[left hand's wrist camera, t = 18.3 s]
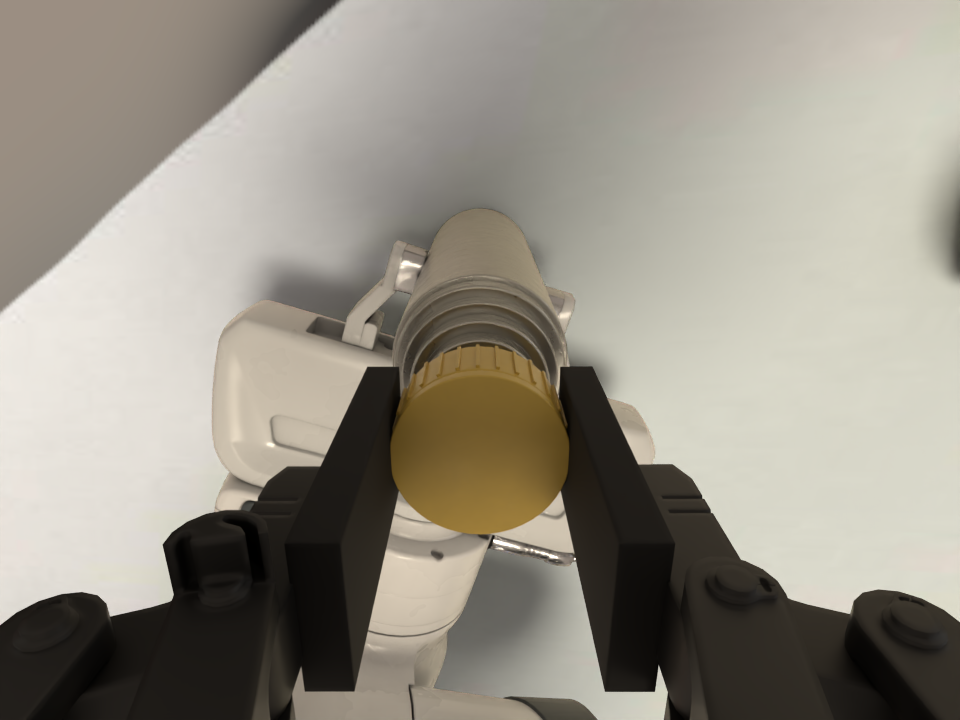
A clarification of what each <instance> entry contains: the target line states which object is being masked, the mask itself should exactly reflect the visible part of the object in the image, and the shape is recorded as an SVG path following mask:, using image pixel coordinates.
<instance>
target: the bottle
mask: <svg viewBox="0 0 960 720" xmlns="http://www.w3.org/2000/svg"><path fill="white" fill-rule="evenodd" d="M476 344H480V346H483V347H493V348H494V347H495V346H498V348H499V349H503V350H506V351H509V352H512V351H515V352H516V354H517V355H519V356H521V357H523V358H524V359H526V360H529V359H530V360H532V363H533V365H534V366H535V367H537V368H538V369H539V370H540V371H541V372H542V371H544V372H545V374H546V377H547V379H548V381H549V382H550V384H551V385H553V384H554V386H555V388H556V392H557V395H558V396H559V383H560V367H567V357H568V355H567V344H566V339H565V335H564V332H563V329H562V326H561V324H560V321H559V319H558V317H557V314H556V312H555V309H554V307H553V304H552V302H551V300H550V297H549V295H548V292H547V290H546V287H545V285H544V283H543V280H542V278H541V275H540V273H539V270H538V268H537V266H536V263H535V261H534V258H533V256H532V253H531V251H530V249H529V246H528V244H527V241H526V239H525V237H524V235H523V233H522V231H521V230H520V228H519V227H518V226H517V225H516V224H515V223H514V222H513V221H512V220H511V219H510V218H509V217H507V216H505V215H504V214H502V213H499V212H497V211H494V210H490V209H481V208H477V209H470V210H466V211H463V212H460V213H458V214H456V215H455V216H453V217H451V218H450V219H449V220H447V221H446V222H445V223H444V224H443V225H442V227H441V228H440V229H439V231H438V233H437V234H436V236H435V239H434V241H433V243H432V246H431V248H430V251H429V253H428V256H427V258H426V260H425V263H424V265H423V268H422V270H421V272H420V275H419V277H418V280H417V282H416V285H415V287H414V289H413V292H412V294H411V297H410V299H409V302H408V304H407V306H406V309H405V311H404V314H403V316H402V319H401V321H400V323H399V326H398V328H397V331H396V334H395V338H394V342H393V351H392V361H393V367H399V371H400V390H401V395H402V391H403V389H404V387H405V388H407V387H408V385H409V383H410V381H411V377H412V375H413V374H417V373H418V372H419V371H420V370H421V369H422V368H423V367H424V363H425V362H428V363H429V362H431V361H432V360H434V359H435V358H437V357H439V356H440V353H442V352H443V353H444V354H445V353H447V352H450V351H453V350H457V347H460V346H461V348H466V347H476Z"/></svg>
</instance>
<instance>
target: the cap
mask: <svg viewBox="0 0 960 720" xmlns="http://www.w3.org/2000/svg"><path fill="white" fill-rule="evenodd" d="M566 428H567V421H566V418H565V415H564V411H563V408H562V404H561V401H560V400H559V398H558V395H557V392H556V388H555V386H554V384H553V385H551V384H550V382H549V381H548V379H547V377H546V374H545V372H544V371H542V372H541V371H540V370H539V369H538V368H537V367H535V366H534V365H533V363H532V360H530V359H529V360H526V359H524V358H523V357H521V356H519V355H517V354H516V352H515V351H512V352H509V351H506V350H503V349H499V348H498V346H495V347H494V348H493V347H483V346H480V344H476V347H466V348H461V346H460V347H457V350H453V351H450V352H447V353H445V354H444V353H443V352H442V353H440V356H439V357H437V358H435V359H434V360H432V361H431V362H429V363H428V362H425V363H424V367H423V368H422V369H421V370H420V371H419V372H418V373H417V374H413V375H412V377H411V381H410V383H409V385H408V387H407V388H405V387H404V389H403V391H402V395H401V398H400V402H399V405H398V408H397V412H396V418H395V421H394V425H393V428H392V431H393V432H392V436H391V441H390V451H391V467H392V476H393V479H394V481H395V484H396V486H397V488H398V490H399V491H400V493H401V494H402V496H403V498H404V499H405V500H406V501H407V502H408V504H409V505H410V506H411V507H412V508H413V509H414V510H415V511H416V512H417V513H419V514H420V515H421V516H423V517H424V518H426V519H427V520H429V521H431V522H433V523H434V524H436V525H438V526H441V527H443V528H446V529H449V530H452V531H456V532H461V533H467V534H493V533H499V532H504V531H507V530H511V529H514V528H516V527H519V526H521V525H523V524H525V523H527V522H529V521H531V520H533V519H534V518H535V517H537V516H538V515H540V514H541V513H542V512H543V511H544V510H545V509H546V508H548V507H549V506H550V504H551V503H552V502H553V501H554V500H555V498H556V497H557V495H558V494H559V492H560V491H561V489H562V487H563V485H564V483H565V481H566V478H567V474H568V461H569V437H568V434H567V430H566Z"/></svg>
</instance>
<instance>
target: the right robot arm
mask: <svg viewBox="0 0 960 720" xmlns="http://www.w3.org/2000/svg"><path fill="white" fill-rule="evenodd" d="M427 254H428V250H426V249H423V248H420V247H417V246H414V245H411V244H407V243H405V242H401V241H398V240H397V241H396V242H395V243H394V245H393V248H392V251H391V254H390V257H389V261H388V265H387V268H386V272H385V276H384V277H383V278H382V279H381V280H380V281H379V282H378V283H377V284H376V285H375V286H374V287H373V288H372V289H371V290H370V291H369V292H368V293H367V294H366V295H365V296H364V297H363V298H362V299H361V300H360V301H358V302H357V303H356V305H355V306H354V308H353V309H352V310H351V312H350V313H349V315H348V316H347V320H346V322H343V321H340V320H337V319H333V318H330V317H326V316H323V315H319V314H316V313H312V312H309V311H306V310H302V309H299V308H295V307H292V306H288V305H285V304H282V303H278V302H275V301H271V300H262V301H259V302H257V303H256V304H254V305H252V306H250V307H249V308H247V309H245V310H244V311H242V312H241V313H239V314H238V315H237V316H236V317H234V318H233V319H232V320H231V321H230V322H229V323H228V324H227V325H226V327H225V328H224V330H223V331H222V334H221V336H220V339H219V343H218V348H217V354H216V361H215V369H214V379H213V394H212V436H213V443H214V447H215V450H216V453H217V455H218V457H219V459H220V461H221V463H222V464H223V465H224V467H225V468H226V469H227V470H228V471H229V474H228V476H227V477H226V479H225V481H224V483H223V486H222V488H221V490H220V492H219V495H218V497H217V500H216V504H215V512H218V511H223V510H245V511H250V510H251V508H252V506H253V505H254V503H255V501H258V496H259V495H260V493H261V491H262V490H263V488H264V486H265V485H266V483H267V481H268V480H270V479H271V478H272V477H274V476H275V475H276V474H278V473H279V472H280V471H282V470H283V469H284V468H286V467H287V466H321V464H322V462H323V460H324V458H325V456H326V453H327V451H328V449H329V447H330V445H331V443H332V441H333V439H334V436H335V434H336V432H337V430H338V428H339V426H340V424H341V422H342V419H343V417H344V415H345V413H346V411H347V409H348V407H349V405H350V402H351V400H352V398H353V396H354V394H355V392H356V390H357V388H358V385H359V383H360V381H361V379H362V377H363V375H364V373H365V370H366V368H367V367H393V361H392V351H393V342H394V338H395V336H392V335H388V334H385V333H381V332H380V331H381V327H382V323H383V319H384V313H383V312H382V311H379V310H377V309H378V308H379V307H380V306H381V305H382V304H384V303H385V302H386V301H387V300H388V299H389V298H390V297H391V296H392V295H393V294H394V293H395V292H396V291H401V292H405V293H408V294H412V292H413V289H414V287H415V285H416V282H417V280H418V277H419V275H420V272H421V270H422V268H423V265H424V263H425V260H426V258H427ZM545 287H546V290H547V292H548V295H549V297H550V300H551V302H552V304H553V307H554V309H555V312H556V314H557V317H558V319H559V321H560V324H561V326H562V329H563V332H564V334H565V332H566V329H567V326H568V324H569V321H570V318H571V316H572V313H573V310H574V306H575V299H574V297H573V295H572V294H570V293H567V292H564V291H561V290H557V289H554V288H551V287H547V286H545ZM567 355H568V354H567ZM567 367H570V365H569V360H568V357H567ZM558 398H559V396H558ZM607 399H608V401H609V403H610V405H611V408H612V410H613V412H614V414H615V416H616V418H617V420H618V422H619V425H620V427H621V429H622V431H623V433H624V435H625V437H626V439H627V442H628V444H629V446H630V448H631V450H632V452H633V454H634V456H635V459H636V461H637V463H638V464H652V463H653V460H654V458H655V446H654V443H653V439H652V437H651V434H650V432H649V430H648V428H647V426H646V424H645V422H644V420H643V419H642V417H641V415H640V414H639V412H638V411H637V410H636V409H635V408H634V407H633V406H631V405H629V404H626V403H622V402H619V401H615V400H612V399H609V398H607ZM488 548H490V549H494V550H498V551H502V552H505V553H509V554H513V555H518V556H526V557H533V558H537V559H540V560H544V561H545V562H546V563H549V564H552V565H556V566H570V565H571V563H572V562H576V558H575V554H574V549H573V545H572V540H571V536H570V531H569V527H568V522H567V518H566V513H565V509H564V504H563V500H562V495H561V491H560V492H559V494H558V495H557V497H556V498H555V500H554V501H553V502H552V503H551V504H550V506H549V507H548V508H546V509H545V510H544V511H543V512H542V513H541V514H540V515H538V516H537V517H535V518H534V519H533V520H531V521H529V522H527V523H525V524H523V525H521V526H519V527H516V528H514V529H511V530H507V531H504V532H499V533H493V534H467V533H461V532H456V531H452V530H449V529H446V528H443V527H441V526H438V525H436V524H434V523H433V522H431V521H429V520H427V519H426V518H424V517H423V516H421V515H420V514H419V513H417V512H416V511H415V510H414V509H413V508H412V507H411V506H410V505H409V504H408V502H407V501H406V500H405V499H404V498H403V496H402V494H401V493H400V491H399V493H398V498H397V502H396V507H395V511H394V516H393V520H392V525H391V529H390V534H389V538H388V543H387V548H386V552H385V557H384V561H383V566H382V570H381V575H380V579H379V584H378V588H377V593H376V597H375V602H374V606H373V611H372V615H371V620H370V624H369V629H368V633H367V638H366V642H365V647H364V651H363V656H362V660H361V665H360V669H359V674H358V678H357V683H356V687H355V692H305V690H304V683H303V676H302V668H300V671H299V674H298V677H297V680H296V683H295V686H294V689H293V692H292V696H293V703H294V710H295V717H296V720H597V719H596V717H595V716H594V715H593V714H592V713H591V712H590V711H589V710H588V709H587V708H586V707H585V706H584V705H582V704H581V703H579V702H577V701H575V700H572V699H556V698H534V697H505V698H496V697H489V696H482V695H476V694H469V693H462V692H455V691H449V690H442V689H435V688H434V685H435V683H436V681H437V678H438V676H439V673H440V671H441V668H442V665H443V662H444V659H445V655H446V650H447V632H448V630H449V629H450V628H451V627H452V626H453V625H454V624H455V622H456V621H457V620H458V618H459V617H460V615H461V613H462V612H463V610H464V608H465V605H466V603H467V600H468V597H469V595H470V592H471V590H472V587H473V585H474V582H475V579H476V577H477V574H478V571H479V569H480V566H481V564H482V561H483V559H484V556H485V553H486V551H487V549H488Z"/></svg>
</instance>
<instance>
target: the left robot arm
mask: <svg viewBox="0 0 960 720" xmlns="http://www.w3.org/2000/svg"><path fill="white" fill-rule="evenodd" d="M400 398H401V390H400V371H399V367H367V368H366V370H365V373H364V375H363V377H362V379H361V381H360V383H359V385H358V388H357V390H356V392H355V394H354V396H353V398H352V400H351V402H350V405H349V407H348V409H347V411H346V413H345V415H344V417H343V419H342V422H341V424H340V426H339V428H338V430H337V432H336V434H335V436H334V439H333V441H332V443H331V445H330V447H329V449H328V451H327V453H326V456H325V458H324V460H323V462H322V464H321V466H287V467H286V468H284V469H283V470H282V471H280V472H279V473H278V474H276V475H275V476H274V477H272V478H271V479H270V480H268V481H267V483H266V485H265V486H264V488H263V490H262V491H261V493H260V495H259V496H258V501H255V503H254V505H253V506H252V508H251V510H250V511H245V510H223V511H218V512H213V513H209V514H205V515H203V516H200V517H198V518H195V519H193V520H191V521H188V522H186V523H185V524H184V525H182V526H181V527H179V528H178V529H176V530H175V531H173V532H172V533H171V535H170V536H169V537H168V538H167V540H166V541H165V542H164V544H163V548H164V553H165V557H166V562H167V566H168V570H169V575H170V579H171V584H172V588H173V593H174V596H173V599H172V601H170V602H168V603H165V604H161V605H158V606H155V607H151V608H147V609H142V610H138V611H133V612H129V613H125V614H120V615H116V616H111V617H110V615H109V612H108V608H107V604H106V603H105V602H104V601H103V600H102V599H101V598H100V597H99V596H98V595H93V594H88V593H83V592H79V593H69V594H61V595H57V596H54V597H51V598H48V599H45V600H41V601H38V602H37V603H35V604H33V605H31V606H29V607H27V608H25V609H23V610H21V611H19V612H17V613H16V614H14V615H13V616H12V617H10V618H9V619H8V620H7V621H5V622H4V623H3V624H1V625H0V720H296V717H295V710H294V703H293V696H292V692H293V689H294V686H295V683H296V680H297V677H298V674H299V671H300V668H302V676H303V683H304V690H305V692H355V687H356V683H357V678H358V674H359V669H360V665H361V660H362V656H363V651H364V647H365V642H366V638H367V633H368V629H369V624H370V620H371V615H372V611H373V606H374V602H375V597H376V593H377V588H378V584H379V579H380V575H381V570H382V566H383V561H384V557H385V552H386V548H387V543H388V538H389V534H390V529H391V525H392V520H393V516H394V511H395V507H396V502H397V498H398V493H399V490H398V488H397V486H396V484H395V481H394V479H393V476H392V467H391V451H390V441H391V436H392V432H393V431H392V428H393V425H394V421H395V418H396V412H397V408H398V405H399V402H400ZM559 400H560V401H561V404H562V408H563V411H564V415H565V418H566V421H567V428H566V430H567V434H568V437H569V461H568V474H567V478H566V481H565V483H564V485H563V487H562V489H561V495H562V500H563V504H564V509H565V513H566V518H567V522H568V527H569V531H570V536H571V540H572V545H573V549H574V554H575V558H576V563H577V567H578V572H579V576H580V581H581V585H582V590H583V594H584V599H585V603H586V608H587V612H588V617H589V621H590V626H591V630H592V635H593V640H594V644H595V649H596V653H597V658H598V662H599V667H600V671H601V676H602V680H603V685H604V689H605V692H655V687H656V680H657V673H658V666H659V667H660V670H661V673H662V676H663V679H664V682H665V685H666V688H667V691H668V696H667V703H666V710H665V716H664V720H960V622H959V621H957V620H956V619H955V618H954V617H952V616H951V615H950V614H948V613H947V612H946V611H944V610H943V609H941V608H939V607H937V606H935V605H933V604H931V603H929V602H927V601H925V600H923V599H921V598H918V597H915V596H911V595H908V594H905V593H902V592H898V591H888V590H874V591H869V592H864V593H862V594H861V595H860V596H859V597H858V598H857V599H856V600H854V603H853V606H852V610H851V613H850V614H847V613H842V612H838V611H833V610H829V609H824V608H820V607H816V606H811V605H807V604H804V603H800V602H797V601H794V600H791V599H788V598H787V595H786V593H785V592H784V590H783V589H782V587H781V586H780V584H779V583H778V581H777V580H776V579H774V578H773V577H772V576H771V575H769V574H768V573H767V572H765V571H764V570H763V569H761V568H759V567H757V566H755V565H752V564H750V563H748V562H746V561H743V560H741V559H740V558H739V556H738V554H737V553H736V551H735V549H734V548H733V546H732V544H731V543H730V541H729V539H728V538H727V536H726V534H725V533H724V531H723V529H722V528H721V526H720V524H719V523H718V521H717V519H716V518H715V516H714V514H713V513H711V510H710V508H709V506H708V505H707V503H706V501H705V500H704V499H702V495H701V493H700V491H699V490H698V488H697V486H696V485H695V483H694V481H693V480H692V478H690V477H689V476H687V475H686V474H685V473H683V472H682V471H681V470H679V469H678V468H677V467H675V466H674V465H673V464H638V463H637V461H636V459H635V456H634V454H633V452H632V450H631V448H630V446H629V444H628V442H627V439H626V437H625V435H624V433H623V431H622V429H621V427H620V425H619V422H618V420H617V418H616V416H615V414H614V412H613V410H612V408H611V405H610V403H609V401H608V399H607V397H606V395H605V393H604V391H603V388H602V386H601V384H600V382H599V380H598V378H597V376H596V373H595V371H594V369H593V367H560V383H559Z"/></svg>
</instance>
